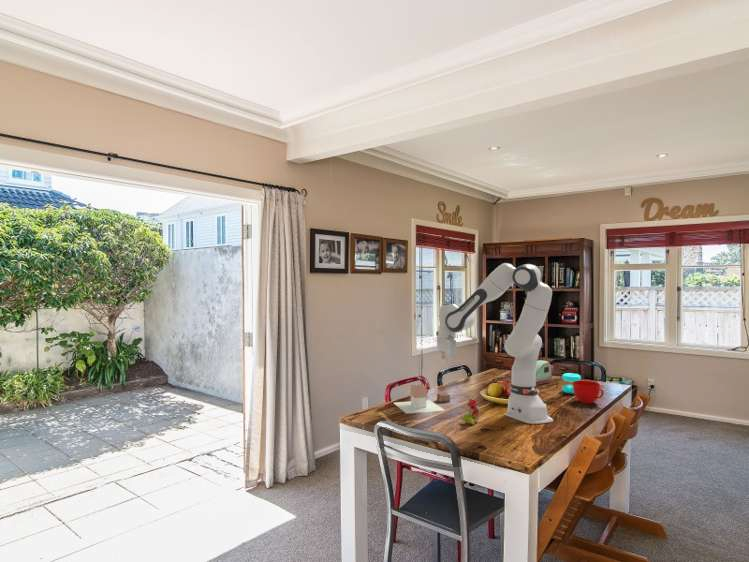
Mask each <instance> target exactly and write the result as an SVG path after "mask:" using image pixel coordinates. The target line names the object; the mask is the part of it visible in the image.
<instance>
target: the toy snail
mask: <svg viewBox="0 0 749 562" xmlns="http://www.w3.org/2000/svg"><path fill="white" fill-rule="evenodd" d="M553 370H554V363H552V364H551V363H550V362H549V361H546V360H537V365H536V386H539V385H543V384H547V383H550V382H551V381H552V377H553Z"/></svg>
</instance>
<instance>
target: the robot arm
mask: <svg viewBox="0 0 749 562" xmlns="http://www.w3.org/2000/svg"><path fill="white" fill-rule="evenodd" d="M542 278H543V272H542V269H541V268H540V267H539V266H538V265H535V264H531V263H526V264H521V265H519V266H517V267H515V266H513V265H512V264H511V263H507V262H504V263H501V264H500V265H498V266H497V267H496V268H495V269H494V270H493V271H491V273H489V275H488V276H487V277H486V278H485V279H484V280H483V281H482V282H481V284H480V285H479V286H478V287H477V288H476V289H475V291H474V292H473V293H472V294H471V295H470V296H468V298H467V299H466V300H465V301H464V302H462V304H461V305H460V306H458V305H457V304H455V303H454V302H453V303H452V302H451V303H443V304H441V306H440V308H439V313H438V321H439V324H438V325H439V326H438V329H437V331H436V333H435V334H436V336H437V337H436V347H437V349H438V350H440V355H441V357H440V358H441V360H446V354H447V363H448V364H451V363H452V361H453V359H454V358H453V357H454V356H456V355H457V351H458V349H457V339H455V338H456V337H457V336H456V335H457V333H458V332H460V331H465V330H468V329H470V328H472V327H473V326H474V323H475V316H474V315H473V313H474V312H475V311H476V310H477V309H478V308H479V307H481V306H483V305H484V304H487V303H489V302H493V301H496V300H497V299H499V298H500V297H501V296H503V294H504V293H506V291H507V290H508V289H509V288H510V287H511V286H512V285H516V287H518V288H520V289H521V290H523V291H524V292H525V293H527V295H526V298H525V300H524V301H525V302H524V304H523V307H522V311H521V313H520V316H519V318H518V320H517V322H516V323H515V325H514V328H512V331H511V333H510V334H509V336H508V337H507V338H506V339H505V341H504V350H505V352H506V353H507V355H509V356H510V357H514V361H513V364H512V366H511V383H510V386H509V388H510V389H509V390H510V395H509V397H508V400H507V402H508V403H507V411H506V412H505V416H506V417H509V418H511V419H514V420H517V421H519V422H522V423H525V424H529V425H530V424H533V425H535V424H536V425H537V424H538V425H540V424H548V423H552V422H554V419H553V418H552V417H551V416H549V415H548V408H547V407H548V406H547V404H546V403H544V401H543V400H542V399H541V397H540V396H539V392H540V391H539V390H540V389H539V388H538V387H537V386H538V385H536V365H537V361H539V360H538V359H539V355H540V350H541V348H542V346H543V341H542V337H541V336H540V335H539V332H540V330H541V329H542V327H543V326H544V325H545V321H546V318H547V315H548V313H549V311H550V310H549V309H550V306H551V303H552V297H553V290H552V288H551V287H550V286H549V285H548V284H546V283H543V282H542Z"/></svg>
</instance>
